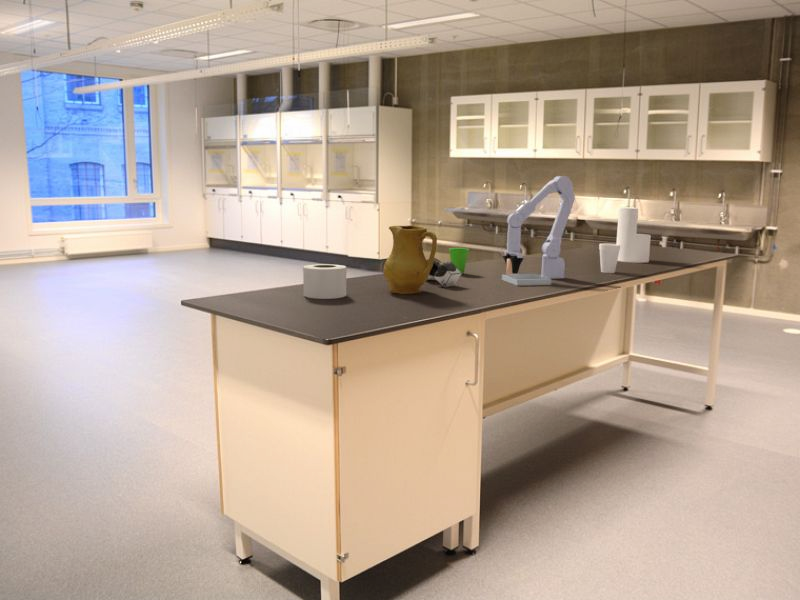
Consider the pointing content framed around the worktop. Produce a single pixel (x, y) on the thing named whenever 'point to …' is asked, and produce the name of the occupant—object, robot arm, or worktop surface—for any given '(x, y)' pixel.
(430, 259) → the pitcher
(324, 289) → the white toilet paper roll
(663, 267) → the worktop surface
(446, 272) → the black white sneaker
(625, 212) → the white l-shaped piece
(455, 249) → the cup
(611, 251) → the foam cup
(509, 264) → the tumbler
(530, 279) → the tray
